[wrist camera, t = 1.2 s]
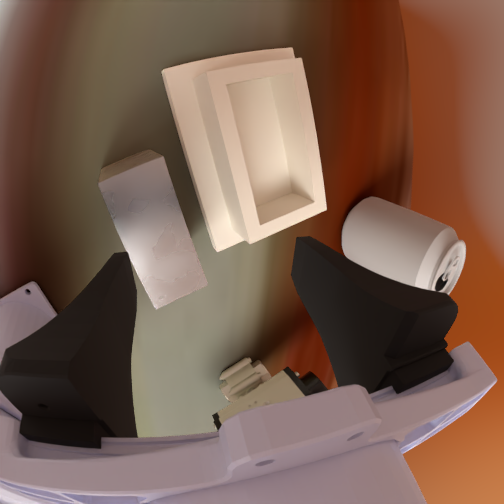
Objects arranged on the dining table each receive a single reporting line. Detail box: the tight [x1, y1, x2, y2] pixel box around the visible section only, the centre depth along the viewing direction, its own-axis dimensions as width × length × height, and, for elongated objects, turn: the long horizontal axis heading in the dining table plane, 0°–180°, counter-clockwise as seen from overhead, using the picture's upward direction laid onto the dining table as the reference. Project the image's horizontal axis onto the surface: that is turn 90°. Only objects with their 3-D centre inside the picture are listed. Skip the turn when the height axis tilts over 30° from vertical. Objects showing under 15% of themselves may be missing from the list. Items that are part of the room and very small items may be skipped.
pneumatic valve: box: [212, 357, 328, 432], centre depth 26 cm, size 6×12×12 cm, turn 113°
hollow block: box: [161, 48, 327, 252], centre depth 20 cm, size 10×14×4 cm
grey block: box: [98, 149, 208, 309], centre depth 17 cm, size 4×8×6 cm, turn 13°
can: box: [342, 197, 466, 295], centre depth 26 cm, size 8×8×12 cm
